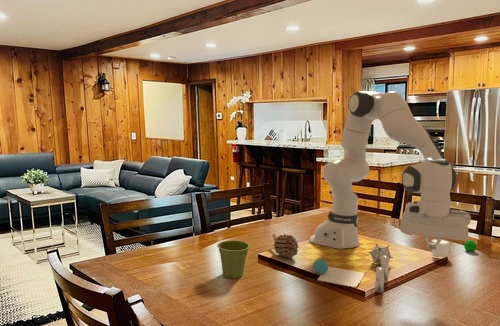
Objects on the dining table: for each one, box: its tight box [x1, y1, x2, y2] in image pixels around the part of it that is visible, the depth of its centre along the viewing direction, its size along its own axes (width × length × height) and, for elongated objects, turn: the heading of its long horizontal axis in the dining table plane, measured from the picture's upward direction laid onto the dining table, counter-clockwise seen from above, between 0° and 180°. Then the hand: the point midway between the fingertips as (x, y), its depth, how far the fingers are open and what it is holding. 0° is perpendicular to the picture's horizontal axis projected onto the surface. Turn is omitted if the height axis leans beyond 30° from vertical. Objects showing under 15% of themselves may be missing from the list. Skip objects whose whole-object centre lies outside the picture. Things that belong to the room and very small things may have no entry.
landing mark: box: [317, 266, 365, 288], centre depth 145 cm, size 14×14×1 cm
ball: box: [312, 258, 329, 275], centre depth 147 cm, size 6×6×6 cm
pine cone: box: [272, 233, 300, 259], centre depth 167 cm, size 22×10×10 cm, turn 22°
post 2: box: [380, 255, 390, 280], centre depth 144 cm, size 3×3×8 cm
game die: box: [368, 243, 394, 265], centre depth 157 cm, size 9×8×10 cm
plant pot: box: [216, 239, 251, 279], centre depth 145 cm, size 12×12×11 cm
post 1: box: [374, 266, 385, 294], centre depth 133 cm, size 3×3×8 cm
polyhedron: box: [463, 239, 478, 253], centre depth 174 cm, size 5×5×5 cm
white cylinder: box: [431, 238, 451, 258], centre depth 166 cm, size 7×7×7 cm
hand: (431, 249), depth 131 cm, fingers closed
